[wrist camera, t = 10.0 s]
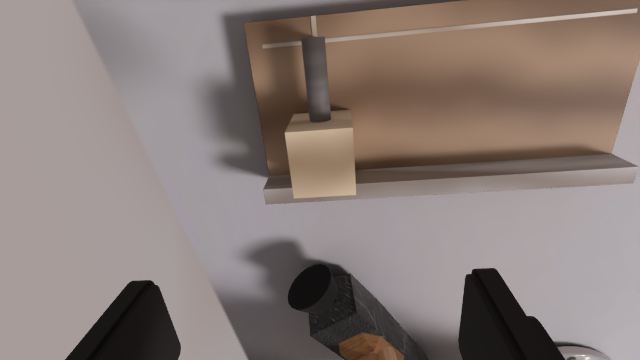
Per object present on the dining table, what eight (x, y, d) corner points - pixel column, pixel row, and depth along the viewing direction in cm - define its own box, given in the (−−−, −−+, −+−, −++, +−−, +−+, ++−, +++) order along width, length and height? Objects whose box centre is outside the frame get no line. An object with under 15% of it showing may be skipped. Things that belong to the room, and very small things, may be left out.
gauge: (353, 167, 25) (356, 194, 21) (300, 170, 25) (293, 198, 21) (345, 33, 21) (348, 35, 17) (284, 39, 22) (271, 43, 17)
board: (589, 160, 26) (633, 183, 22) (275, 179, 28) (265, 204, 24) (637, -17, 21) (704, -26, 17) (250, 23, 23) (232, 22, 19)
